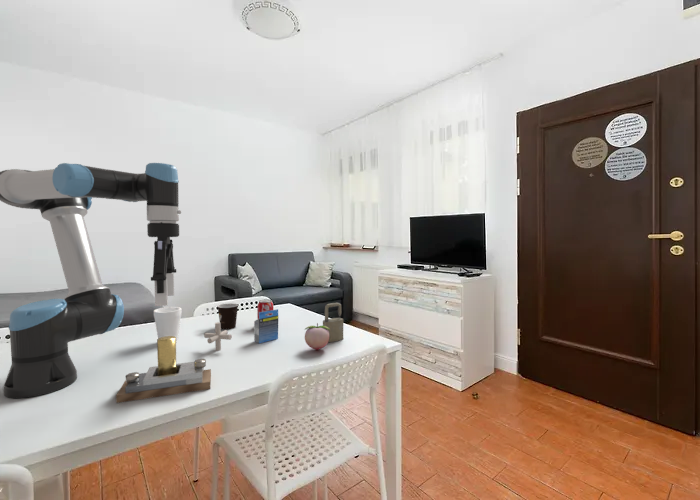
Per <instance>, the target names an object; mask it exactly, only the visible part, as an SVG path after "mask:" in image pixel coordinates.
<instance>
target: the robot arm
mask: <svg viewBox="0 0 700 500" xmlns="http://www.w3.org/2000/svg"><path fill="white" fill-rule="evenodd" d="M178 174H179V173H178V169H177V167H176V166H175V165H173V164H170V163H164V162H149V163H147V164H146V165H145V171H144V172H143V173H134V172H133V173H132V172H127V171H122V170H121V171H119V170H114V169H113V170H112V169H106V168H100V167H96V166H89V165H83V164H79V163H69V162H66V163H65V162H63V163H59V164H58V165H57V167H55V168H53V169H44V170H43V169H42V170H29V169H28V170H27V169H19V168H18V169H17V168H15V169H14V168H13V169H12V168H11V169H5V170H2V171H0V201H1V202H2V203H4V204H6V205H8V206H12V207H13V208H14V207H15V208H20V209H26V210H27V209H29V210H39V211H40V214H41V215H40V216H41V218H43V219H44V220H46V221H47V222H48V221H49V225H50V227H51V231H52V235H53V238H54V242H55V245H56V246H55V247H56V249H57V253H58V256H59V260H60V264H61V268H62V272H63V275H64V278H65V283H66V285H67V289H68V293H67V294H66V295H65V297H64V298H49V299H43V300H38V301H33V302H30V303H26V304H23V305H20V306H18V307H16V308H14V309H13V310H12V311H11V313H10V314H9V324H8V330H9V337H10V338H9V339H10V341H9V342H10V355H11V365H10V368H9V371H8V373H7V377H6V379H5V382H4V384H3V395H4V397H6V398H9V399H10V398H11V399H23V398H25V399H26V398H32V397H38V396H42V395H46V394H50V393H53V392H56V391H58V390H62V389H63V388H64V389H65V388H67V387H68V386H70V385H72V384H73V383H75V382H76V380H77V379H78V373H77V372H78V371H77V368H76V366H75V364H74V363H73V359H71V356H70V354H69V343H71V342H74V341H77V340H81V339H85V338H88V337H93V336H97V335H103V334H105V333H108V332H111V331H114V330H115V329H117V328H118V327H119V326H120V325H121V323H122V321H123V319H124V314H125V306H124V302H123V300H122V298H121V297H120V295H117V294H114V293H111V288H110V287H108V286H106V285H104V284H103V281H102V279H101V274H100V271H99V268H98V264H97V260H96V258H95V254H94V250H93V246H92V243H91V239H90V236H89V233H88V229H87V225H86V222H85V218H84V217H85V216H86V215H87V214H88V210H89V209H90V208H91V206H92V203H93V202H92V199H94V198H96V199H97V198H98V199H107V200H116V201H117V200H119V201H123V202H129V203H131V202H133V203H137V202H145V201H146V220H147V222H148V223H147V231H146V233H147V237H149V238H157V240H155V241H154V242H153V244H154V253H153V254H154V255H153V269H152V270H153V271H152V276H151V277H150V281H152V282H154V307H163V306H164V307H167V306H168V304H169V302H168V301H169V300H168V296H169V297H171V296H174V297H175V279H174V278H175V275H174V274H175V273H177V268H175V262H174V261H175V259H174V244H173V239H171V238H177V237H179V236H180V224H179V223H177V222H179V220H180V218H179V215H180V214H182V210H179V183H180V182H179V181H180V180H179V175H178Z"/></svg>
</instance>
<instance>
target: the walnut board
mask: <svg viewBox="0 0 700 500" xmlns="http://www.w3.org/2000/svg"><path fill="white" fill-rule="evenodd" d="M211 379H212V370H211V368H209V369H204V371H203V381H202V383H196V384H189V385H182V386H175V387H168V388H162V389H155V390H148V391H141V392H134V393H127V394H126V391H125V388H126V386H127V384H128V383H126V379H125V380H124V382H123V383H122V385H121V387H120V388H119V390H118V392H117V394H116V395H115V396H116V398H115V399H116V400H115V402H116V404H119V403H124V402H125V403H126V402H132V401H139V400H140V401H141V400H145V399H152V398H153V399H154V398H159V397H164V396H172V395H177V394H186V393H191V392H197V391H204V390H205V391H206V390H211V381H212V380H211Z"/></svg>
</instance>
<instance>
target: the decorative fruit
mask: <svg viewBox="0 0 700 500" xmlns="http://www.w3.org/2000/svg"><path fill="white" fill-rule="evenodd" d="M327 329H329V328H328V327H326V326H323V325H319V324H318V322H317V323H316V325H309V326H307V327H305V328H304V329H303V330H304V331H305V330H306V331H305V333H304V341H305V343H306V345H307V346H308V347H309V348H311V349H313V350H316V351H318V350H321V349H322V348H323V349H324V347H326V346H327V345H328V344H329V342H328V341H329V331H328V330H327ZM329 330H330V329H329Z"/></svg>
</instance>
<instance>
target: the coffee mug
mask: <svg viewBox="0 0 700 500" xmlns="http://www.w3.org/2000/svg"><path fill="white" fill-rule="evenodd" d="M238 308H239V304H237V303H222V304H218V305H217V311H218V312H217V313H218V319H219V321H218V322H220V325H221V330H223V331H224V330H227V331H228V330H233V329H235V328H237V319H238V318H237V317H238Z"/></svg>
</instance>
